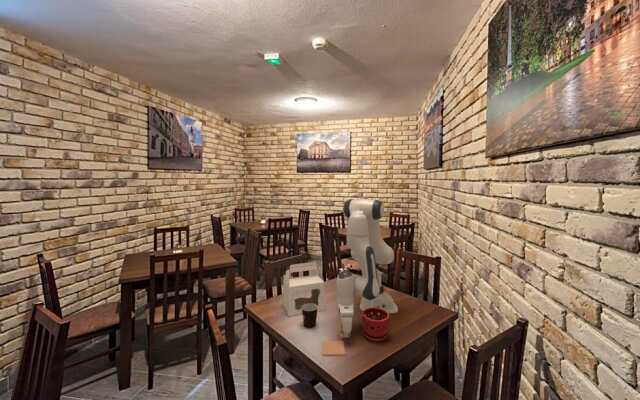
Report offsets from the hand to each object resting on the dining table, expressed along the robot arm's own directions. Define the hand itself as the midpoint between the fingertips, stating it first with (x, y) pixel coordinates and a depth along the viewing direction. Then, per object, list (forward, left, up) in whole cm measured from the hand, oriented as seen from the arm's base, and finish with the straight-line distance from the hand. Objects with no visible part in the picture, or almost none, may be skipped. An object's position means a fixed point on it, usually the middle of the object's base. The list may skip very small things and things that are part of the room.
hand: (345, 331), depth 142 cm
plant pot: (-15, +2, -2) cm, 15 cm away
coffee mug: (+18, -8, -2) cm, 20 cm away
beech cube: (0, 0, -2) cm, 2 cm away
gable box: (+22, -29, -2) cm, 37 cm away
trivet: (+7, +12, -2) cm, 14 cm away
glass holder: (-8, -53, -2) cm, 54 cm away
